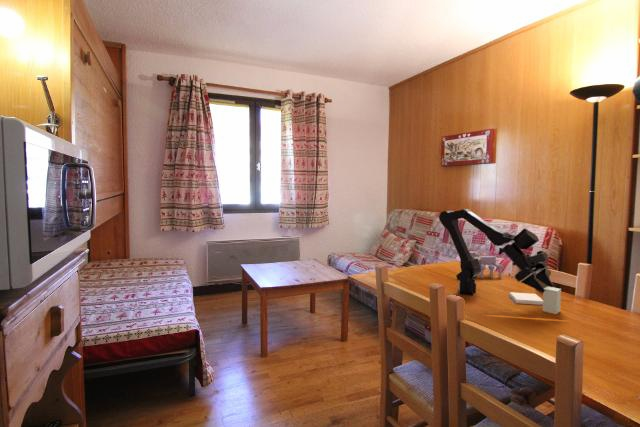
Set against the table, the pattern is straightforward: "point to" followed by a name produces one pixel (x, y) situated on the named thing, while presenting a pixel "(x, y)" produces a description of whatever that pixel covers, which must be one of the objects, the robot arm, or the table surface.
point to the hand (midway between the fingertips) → (548, 289)
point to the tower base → (521, 303)
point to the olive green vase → (549, 278)
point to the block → (551, 300)
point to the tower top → (526, 298)
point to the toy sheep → (487, 263)
